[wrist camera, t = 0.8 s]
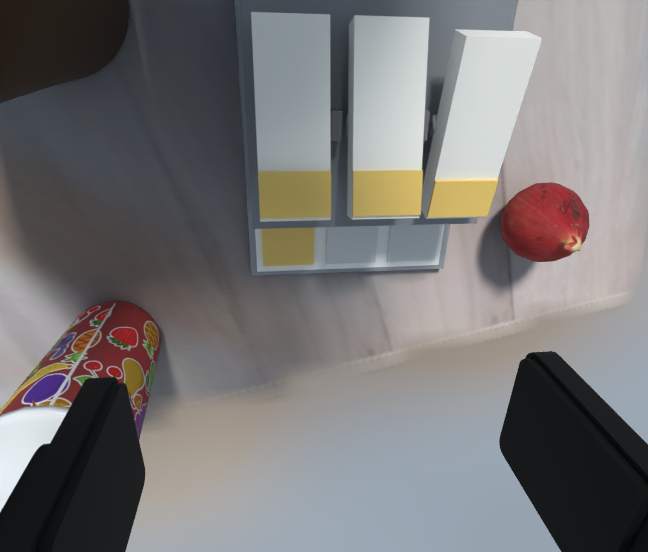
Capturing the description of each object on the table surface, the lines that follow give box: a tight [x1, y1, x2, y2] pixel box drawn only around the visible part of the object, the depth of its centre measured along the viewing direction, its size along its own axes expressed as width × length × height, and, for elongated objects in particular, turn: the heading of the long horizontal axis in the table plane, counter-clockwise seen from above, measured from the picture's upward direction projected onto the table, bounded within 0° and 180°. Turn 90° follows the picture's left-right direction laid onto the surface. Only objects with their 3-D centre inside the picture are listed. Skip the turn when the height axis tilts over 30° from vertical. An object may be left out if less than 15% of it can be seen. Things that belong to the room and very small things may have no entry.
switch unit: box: [234, 0, 518, 276], centre depth 29 cm, size 20×16×7 cm
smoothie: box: [0, 301, 161, 512], centre depth 28 cm, size 8×8×20 cm
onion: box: [501, 183, 589, 262], centre depth 33 cm, size 6×6×8 cm
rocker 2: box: [345, 15, 429, 219], centre depth 24 cm, size 10×4×3 cm, turn 179°
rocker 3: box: [421, 29, 542, 219], centre depth 25 cm, size 10×4×3 cm, turn 179°
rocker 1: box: [251, 12, 331, 222], centre depth 24 cm, size 10×4×3 cm, turn 179°
